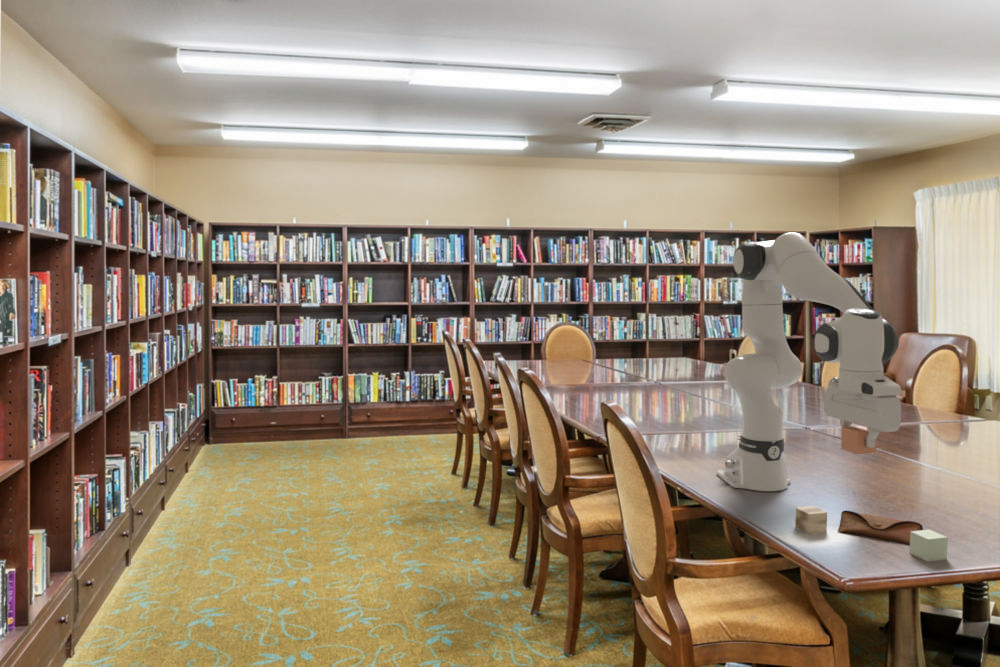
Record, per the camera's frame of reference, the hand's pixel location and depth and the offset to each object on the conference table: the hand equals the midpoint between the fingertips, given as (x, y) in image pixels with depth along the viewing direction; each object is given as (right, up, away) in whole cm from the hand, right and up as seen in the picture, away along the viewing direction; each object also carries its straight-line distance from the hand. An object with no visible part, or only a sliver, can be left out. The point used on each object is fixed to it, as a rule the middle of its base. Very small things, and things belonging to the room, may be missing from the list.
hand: (858, 443), depth 165 cm
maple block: (-5, -23, +14) cm, 28 cm away
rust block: (0, -2, 0) cm, 2 cm away
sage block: (+14, -24, -3) cm, 28 cm away
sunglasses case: (+10, -24, +11) cm, 28 cm away
